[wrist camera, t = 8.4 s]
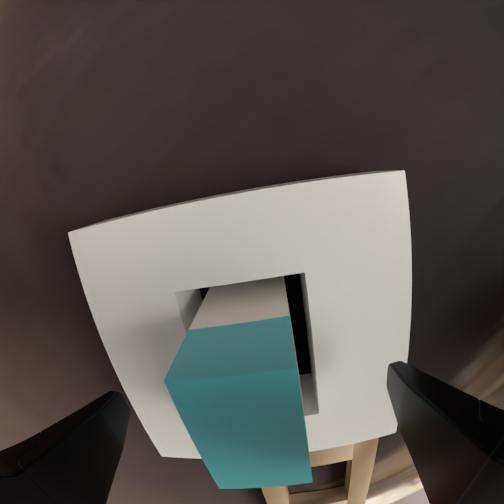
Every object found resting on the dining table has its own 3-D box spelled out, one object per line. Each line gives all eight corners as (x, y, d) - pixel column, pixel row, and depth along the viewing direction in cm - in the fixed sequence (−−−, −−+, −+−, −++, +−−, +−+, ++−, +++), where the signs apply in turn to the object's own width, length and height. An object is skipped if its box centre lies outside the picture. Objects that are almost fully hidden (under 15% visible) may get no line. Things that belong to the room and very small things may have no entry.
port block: (374, 171, 11) (404, 170, 8) (379, 396, 14) (395, 432, 11) (105, 220, 12) (67, 232, 10) (174, 420, 15) (161, 456, 12)
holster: (373, 414, 14) (379, 431, 13) (360, 493, 17) (363, 506, 16) (249, 434, 15) (248, 452, 14) (273, 506, 18) (273, 519, 16)
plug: (282, 268, 13) (297, 367, 6) (297, 363, 14) (312, 482, 7) (213, 279, 13) (163, 380, 6) (237, 372, 14) (219, 488, 7)
